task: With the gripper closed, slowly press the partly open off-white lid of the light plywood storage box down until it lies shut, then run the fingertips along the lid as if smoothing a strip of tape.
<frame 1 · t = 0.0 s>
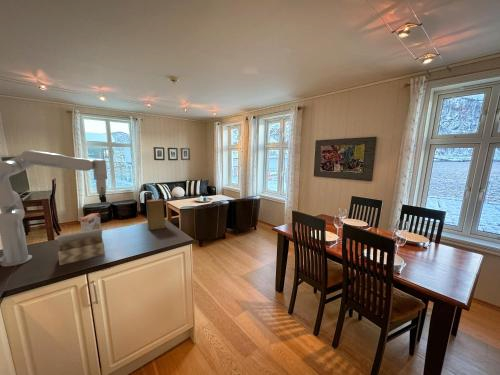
hand: (102, 201, 152), 31 cm above the counter, tool pointing down, fingers open, 9 cm apart
food packaging: (156, 227, 190), on the counter
cracker box: (93, 243, 156), on the counter
lid: (81, 236, 137), point 13 cm above the counter, hinge at 35.0°
storage box: (83, 255, 137), on the counter
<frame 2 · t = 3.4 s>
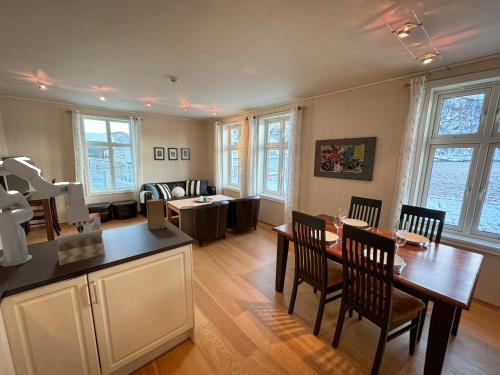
hand: (80, 232, 132), 17 cm above the counter, tool pointing down, fingers closed
lid: (81, 236, 136), point 12 cm above the counter, hinge at 33.3°, touching gripper
everything else where it was.
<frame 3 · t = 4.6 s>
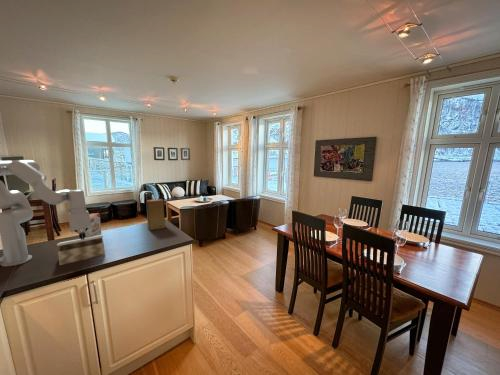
hand: (82, 238, 133), 12 cm above the counter, tool pointing down, fingers closed
lid: (81, 239, 136), point 10 cm above the counter, hinge at 14.3°, touching gripper
everything else where it was.
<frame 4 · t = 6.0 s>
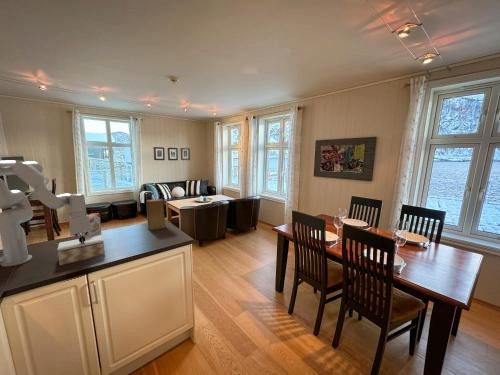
hand: (82, 242, 133), 10 cm above the counter, tool pointing down, fingers closed
lid: (81, 242, 136), point 9 cm above the counter, hinge at 2.5°, touching gripper
everything else where it was.
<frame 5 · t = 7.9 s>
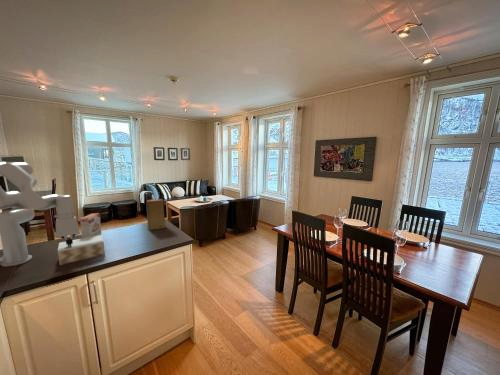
hand: (69, 245, 130), 10 cm above the counter, tool pointing down, fingers closed
lid: (81, 242, 136), point 9 cm above the counter, hinge at 0.1°
everything else where it was.
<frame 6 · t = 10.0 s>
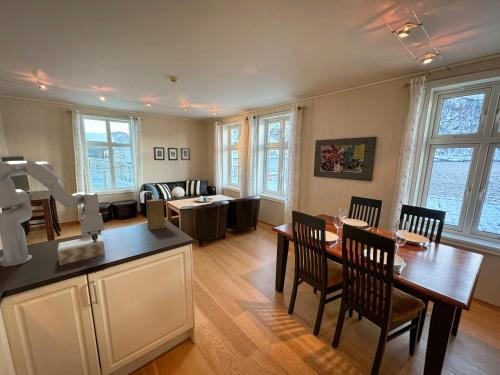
hand: (95, 240, 138), 10 cm above the counter, tool pointing down, fingers closed
nothing on the counter moved.
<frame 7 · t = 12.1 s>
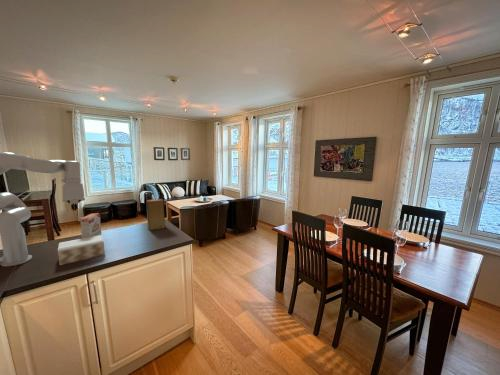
hand: (74, 210, 134), 29 cm above the counter, tool pointing down, fingers closed
nothing on the counter moved.
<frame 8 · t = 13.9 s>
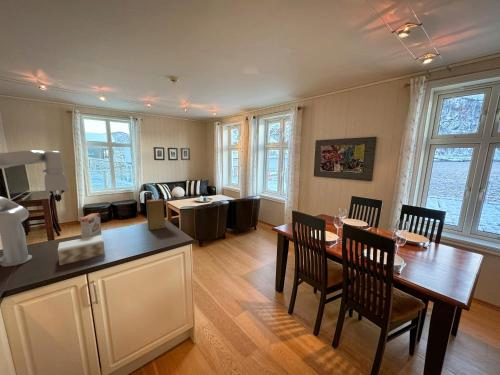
hand: (58, 201, 133), 35 cm above the counter, tool pointing down, fingers closed
nothing on the counter moved.
at the end: lid at +0° (first picture: +35°); cracker box moved 0.2 cm from its start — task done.
